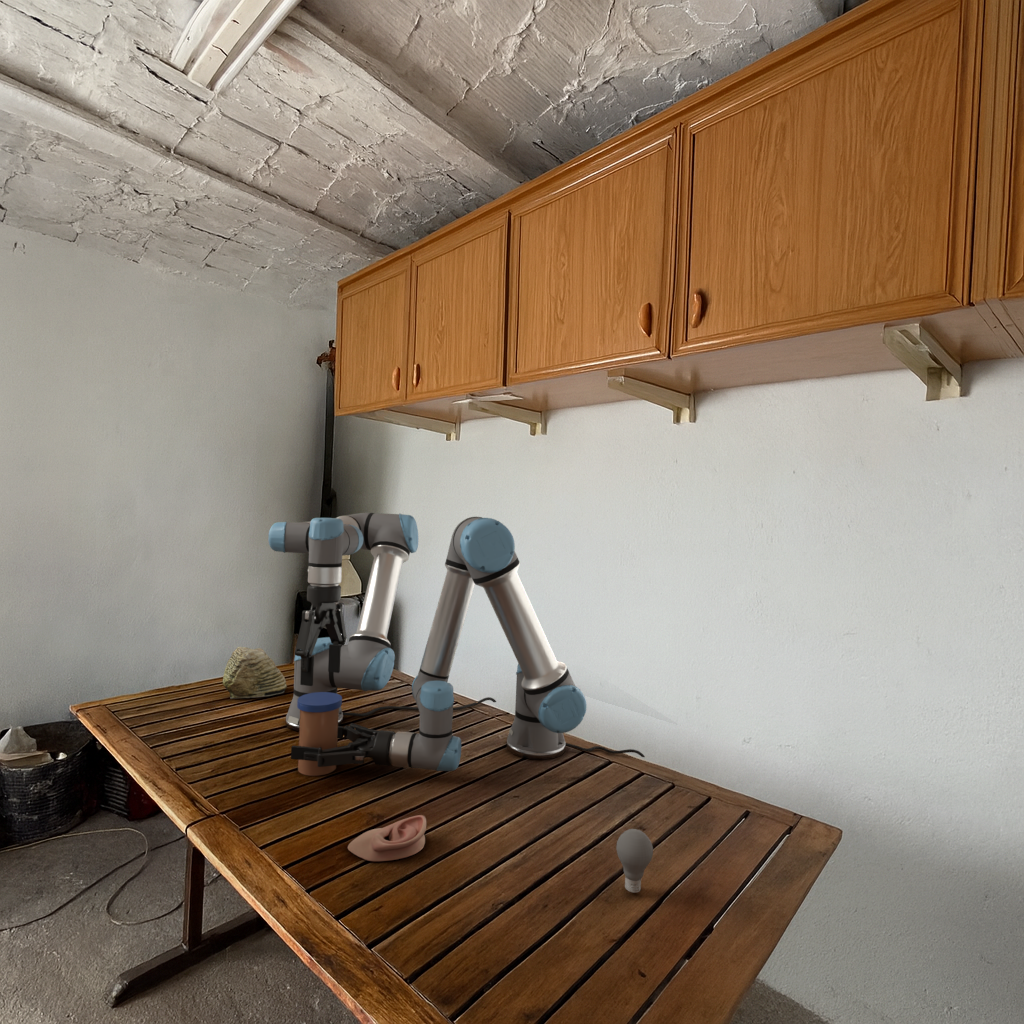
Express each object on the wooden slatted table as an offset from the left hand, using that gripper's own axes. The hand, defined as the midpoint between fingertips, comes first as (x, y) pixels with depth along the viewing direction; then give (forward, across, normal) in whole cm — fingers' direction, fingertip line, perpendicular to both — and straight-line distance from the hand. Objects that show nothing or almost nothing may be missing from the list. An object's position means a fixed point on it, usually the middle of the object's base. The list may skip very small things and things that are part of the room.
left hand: (320, 678), depth 147 cm
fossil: (+21, -40, -47) cm, 65 cm away
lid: (+5, 0, 0) cm, 5 cm away
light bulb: (+21, +24, +74) cm, 81 cm away
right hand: (+15, +1, -3) cm, 15 cm away
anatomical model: (+21, +25, +30) cm, 44 cm away
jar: (+21, 0, 0) cm, 21 cm away
